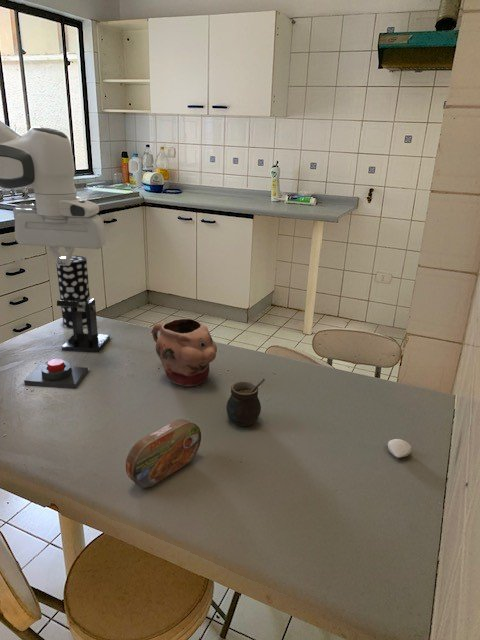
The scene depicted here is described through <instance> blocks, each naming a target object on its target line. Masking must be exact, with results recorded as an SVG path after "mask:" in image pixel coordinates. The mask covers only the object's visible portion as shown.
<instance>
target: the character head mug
mask: <svg viewBox="0 0 480 640" xmlns="http://www.w3.org/2000/svg"><path fill="white" fill-rule="evenodd" d="M151 333H152V334H151V335H152V338H153V341H154V342H155V352H156V354H157V357H158V358H159V361H160V362H161V365H162V367H163V369H164V372H165V374H166V377H167V379H168V380H169V381H170V382H172V383H173V384H176V385H179V386H184V387H194V386H197V385H200V384H202V383H204V382H205V381H206V380H207V379H208V378H209V374H210V363H212V362H213V361H214V360H215V359H216V357H217V352H218V347H217V344H216V342H215V341H214V339H213V338H212V335H211V333H210V331H209V329H208V326H207V325H205V324H203V323H202V322H200V321H198V320H195V319H193V318H185V317H184V318H176V319H172V320H168V321H166V322H165V323H161V322H157V323H155V324H154V325H153V326H152V329H151ZM158 333H159V334H158ZM158 335H159V336H158Z"/></svg>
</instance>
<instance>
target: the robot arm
mask: <svg viewBox="0 0 480 640" xmlns="http://www.w3.org/2000/svg"><path fill="white" fill-rule="evenodd" d="M75 173H76V171H75V161H74V154H73V149H72V144H71V141H70V139H69V137H68V135H66V134H65V133H64V132H62V131H61V130H57V129H53V128H49V127H44V126H33V127H31V128H30V129H28V130H27V132H25V133H24V134H23V135H21V134H19V133H18V132H16V131H15V130H14V129H13V128H11V127H10V126H8V125H7V124H6V123H4V122H3V121H1V120H0V187H1V188H3V189H6V190H7V189H8V190H19V189H25V188H30V187H31V188H32V189H33V192H34V200H35V203H28V204H26V203H18V204H17V205H16V206H15V207H14V208H13V210H12V213H13V219H14V237H15V241H16V242H17V244H18V245H20V246H37V247H48V250H49V253H50V254H51V255H52V257H53V258H54V259H55V265H56V266H57V265H64V266H69V265H70V264H71V259H70V257H71V256H73V253H74V252H75V249H89V250H91V249H92V250H94V249H95V250H100V249H102V248H103V247H104V246H105V244H106V242H107V240H106V231H105V225H104V222H103V219H102V217H101V216H100V215H99V213H100V206H99V204H97V203H95V202H93V201H90V200H87V199H84V198H82V197H81V196H78V192H77V191H78V190H77V188H76V185H75ZM60 248H64V252H65V253H66V255H65V256H66V257H64V256H62V255H61V254H60V252H59V250H60Z"/></svg>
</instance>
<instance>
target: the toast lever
mask: <svg viewBox="0 0 480 640" xmlns="http://www.w3.org/2000/svg"><path fill="white" fill-rule="evenodd" d="M85 304H86V302H76V301H61V300H60V299H58V300H56V306H57V307H61V306H64V307H74V308H77V311H80V312H86V306H85Z"/></svg>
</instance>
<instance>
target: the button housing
mask: <svg viewBox="0 0 480 640" xmlns="http://www.w3.org/2000/svg"><path fill="white" fill-rule="evenodd" d="M63 361H64V369H62V370H60V371H55V372H54V371H49V370H48V365H47V363H45V364H39V365H38V366H37V367H36V368H34V370H33V371H32V372H31V373H30V374H29V375H28V376H27V377H26V378H25V379H24V380H23V383H24V386H33V387H50V388H63V389H77V387H78V386H79V385H80V384H81V382H82V381H83V379H84V378H85V376H87V374H88V373H89V367H85V366H72V365H71V363H70V362H69V361H66V360H63Z"/></svg>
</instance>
